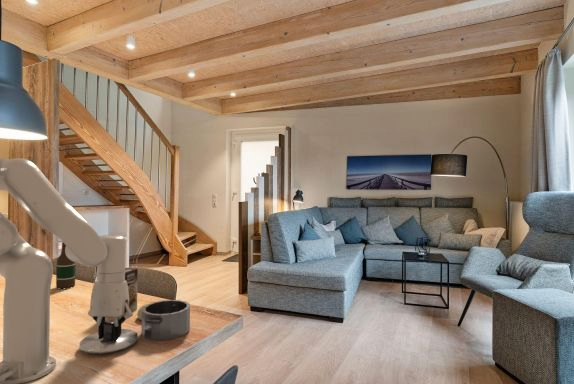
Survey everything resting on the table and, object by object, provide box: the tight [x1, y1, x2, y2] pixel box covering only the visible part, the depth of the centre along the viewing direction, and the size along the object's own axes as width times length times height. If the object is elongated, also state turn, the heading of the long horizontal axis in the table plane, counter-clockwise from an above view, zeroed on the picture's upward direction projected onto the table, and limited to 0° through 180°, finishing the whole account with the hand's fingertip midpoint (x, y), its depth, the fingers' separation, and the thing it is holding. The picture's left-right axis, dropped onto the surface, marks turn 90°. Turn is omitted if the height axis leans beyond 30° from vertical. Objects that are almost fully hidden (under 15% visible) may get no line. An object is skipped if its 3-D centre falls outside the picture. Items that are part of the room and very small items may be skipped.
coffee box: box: [123, 267, 139, 316], centre depth 132 cm, size 9×6×16 cm
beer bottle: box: [55, 241, 76, 289], centre depth 164 cm, size 8×8×24 cm
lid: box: [78, 319, 139, 355], centre depth 103 cm, size 16×16×7 cm
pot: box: [141, 299, 191, 342], centre depth 115 cm, size 19×15×8 cm
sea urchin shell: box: [136, 303, 149, 321], centre depth 127 cm, size 9×8×8 cm
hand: (109, 337), depth 103 cm, fingers closed on lid, 3 cm apart
